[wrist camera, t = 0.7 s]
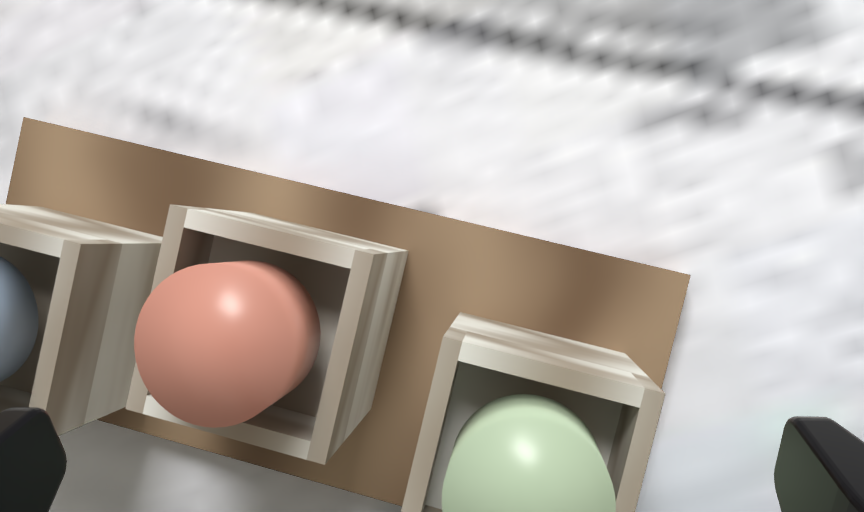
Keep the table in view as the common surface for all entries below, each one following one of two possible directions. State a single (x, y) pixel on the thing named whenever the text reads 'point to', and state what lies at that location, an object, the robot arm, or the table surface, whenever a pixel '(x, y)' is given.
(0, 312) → the blue button
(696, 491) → the table surface
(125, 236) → the button console
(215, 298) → the red button
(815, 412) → the table surface
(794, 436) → the robot arm
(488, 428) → the green button
